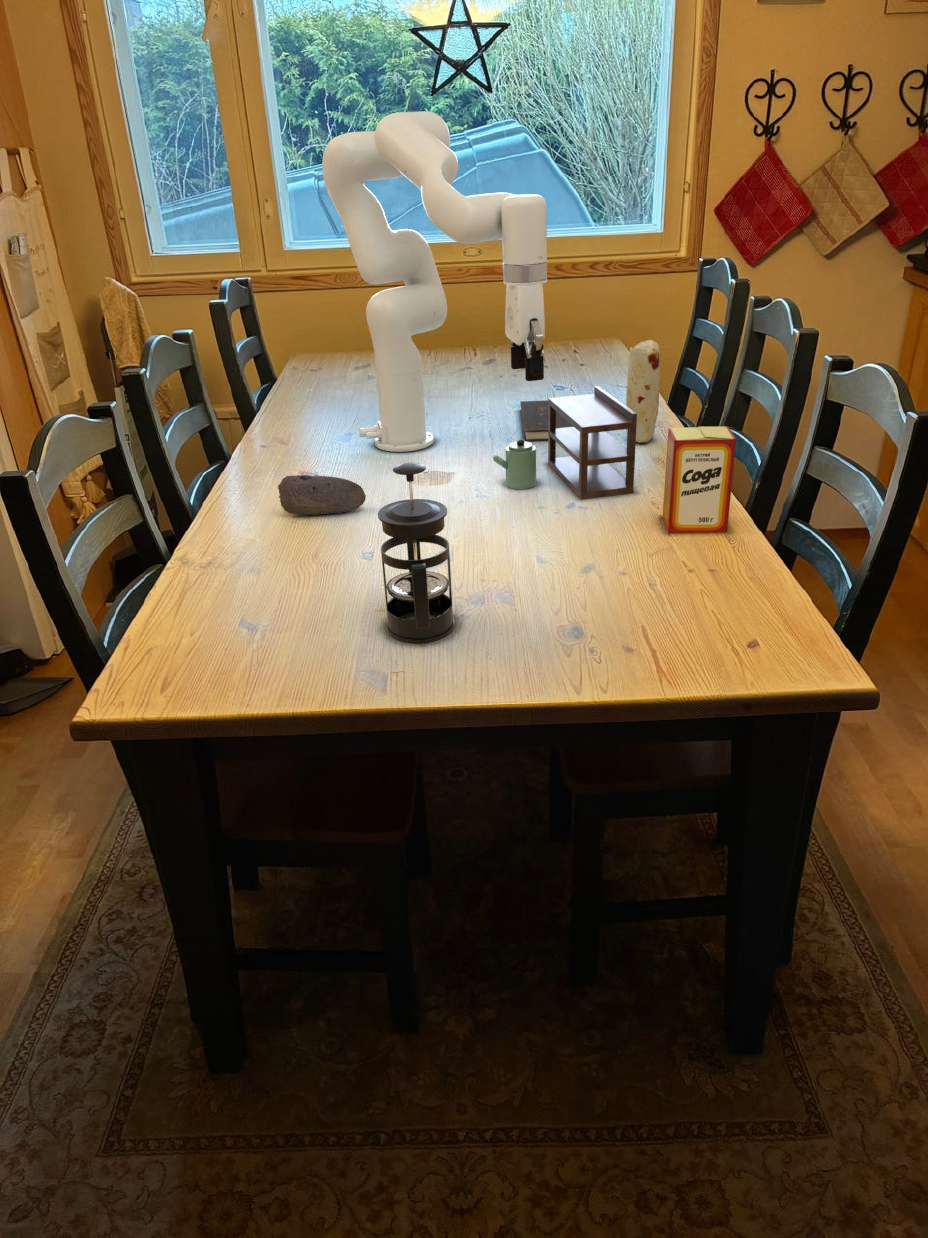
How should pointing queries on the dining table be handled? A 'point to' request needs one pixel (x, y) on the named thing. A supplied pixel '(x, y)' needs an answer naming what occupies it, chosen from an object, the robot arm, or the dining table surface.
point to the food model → (644, 387)
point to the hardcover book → (538, 420)
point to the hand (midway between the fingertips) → (527, 374)
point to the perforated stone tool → (319, 495)
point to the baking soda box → (698, 479)
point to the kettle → (519, 465)
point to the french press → (416, 567)
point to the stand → (592, 443)
